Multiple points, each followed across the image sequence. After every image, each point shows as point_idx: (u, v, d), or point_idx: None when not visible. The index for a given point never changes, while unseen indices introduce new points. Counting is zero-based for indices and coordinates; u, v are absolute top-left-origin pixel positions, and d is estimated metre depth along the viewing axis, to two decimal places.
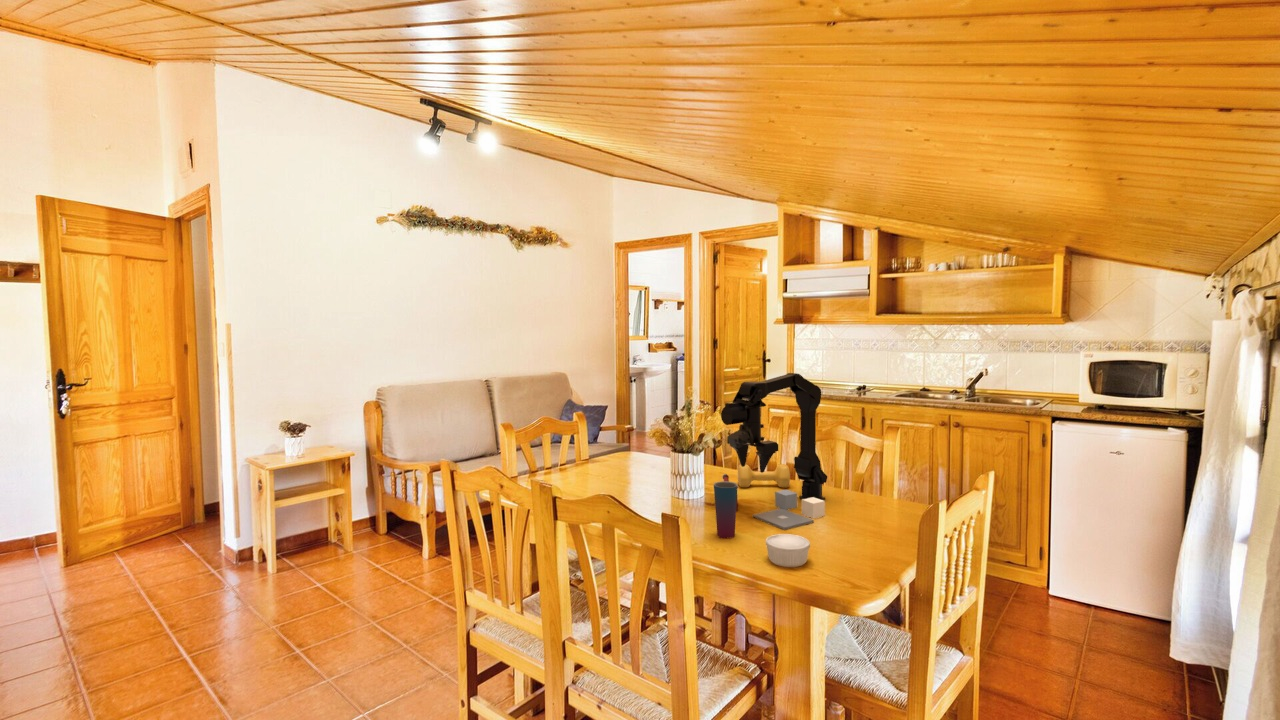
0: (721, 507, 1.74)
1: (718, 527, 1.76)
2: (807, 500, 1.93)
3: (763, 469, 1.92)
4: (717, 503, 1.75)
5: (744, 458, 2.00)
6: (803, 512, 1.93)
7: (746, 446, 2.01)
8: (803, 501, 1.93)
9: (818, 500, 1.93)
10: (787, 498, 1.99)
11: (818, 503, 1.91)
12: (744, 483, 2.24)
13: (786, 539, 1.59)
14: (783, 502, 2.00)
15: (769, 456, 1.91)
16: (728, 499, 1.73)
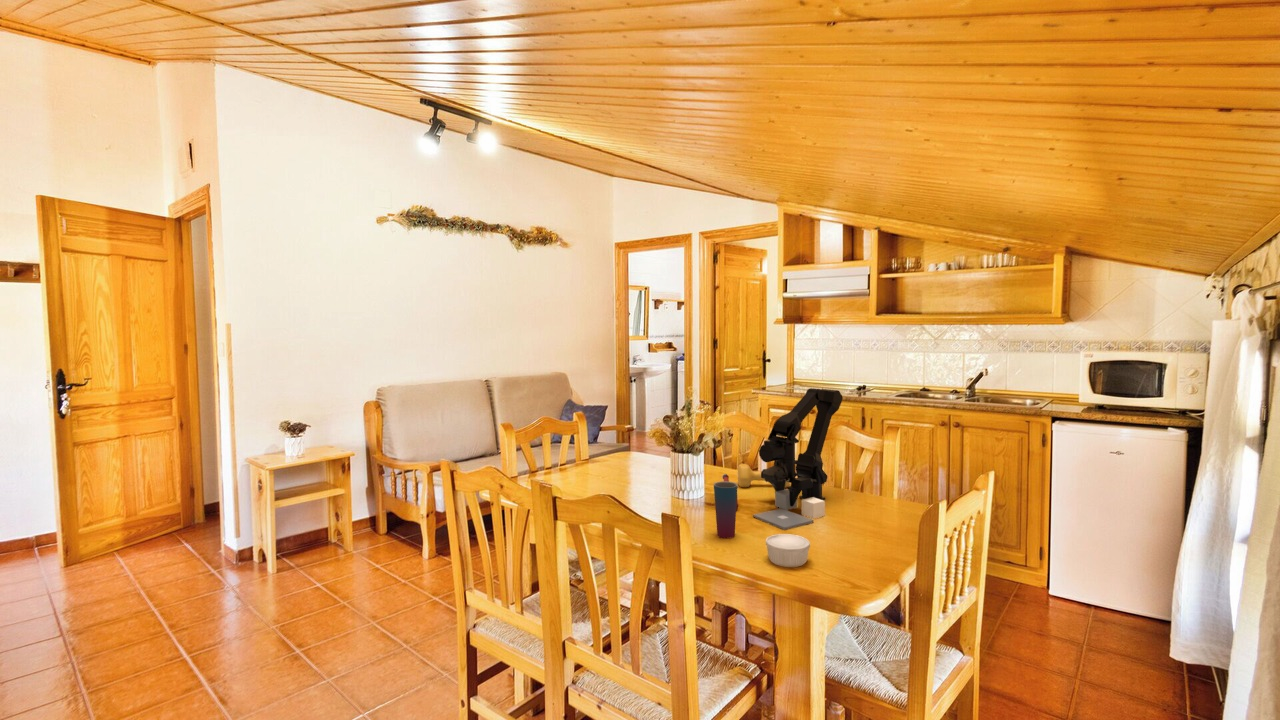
0: (721, 507, 1.74)
1: (718, 527, 1.76)
2: (807, 500, 1.93)
3: (793, 503, 1.99)
4: (717, 503, 1.75)
5: None
6: (803, 512, 1.93)
7: (783, 482, 2.05)
8: (803, 501, 1.93)
9: (818, 500, 1.92)
10: (787, 498, 1.99)
11: (818, 503, 1.91)
12: (744, 483, 2.25)
13: (786, 539, 1.59)
14: (783, 502, 2.00)
15: (799, 490, 1.99)
16: (728, 499, 1.73)
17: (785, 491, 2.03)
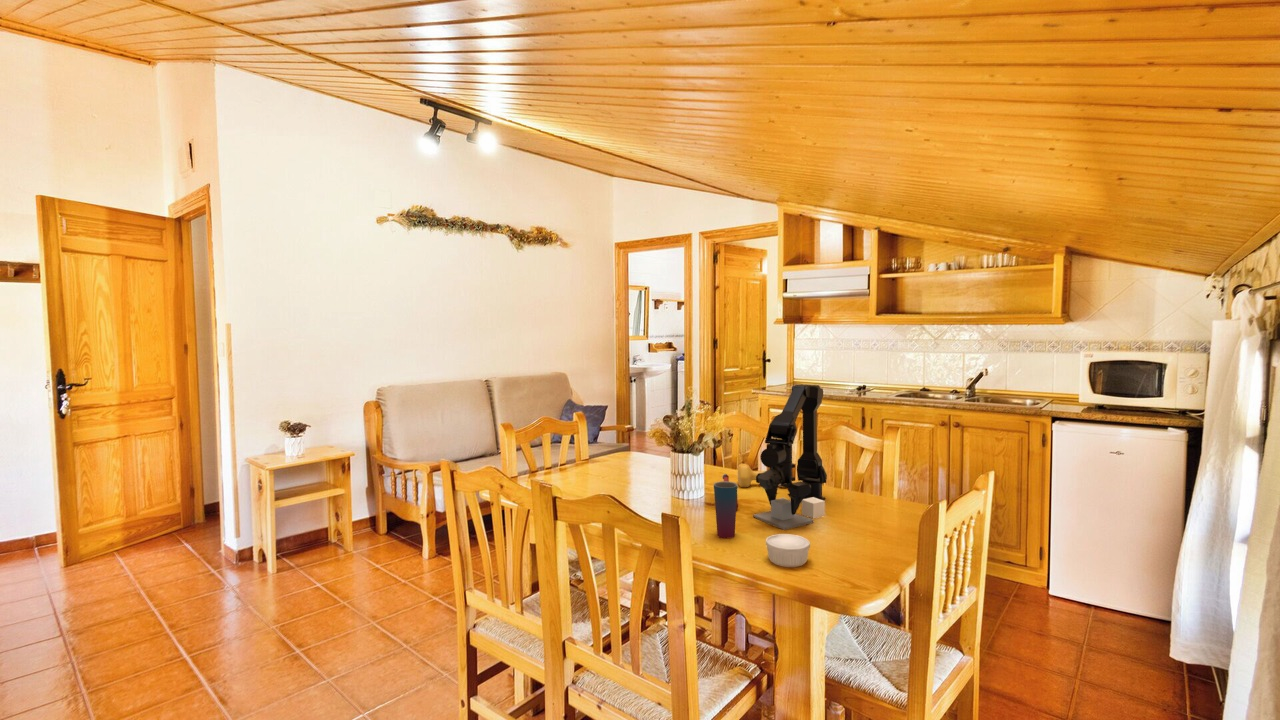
0: (721, 507, 1.74)
1: (718, 527, 1.76)
2: (807, 500, 1.93)
3: (795, 511, 1.85)
4: (717, 503, 1.75)
5: (773, 498, 1.93)
6: (803, 512, 1.93)
7: (776, 485, 1.94)
8: (803, 501, 1.93)
9: (818, 500, 1.93)
10: (784, 507, 1.86)
11: (818, 503, 1.91)
12: (744, 483, 2.25)
13: (786, 539, 1.59)
14: (779, 511, 1.87)
15: (801, 498, 1.84)
16: (728, 499, 1.73)
17: (781, 500, 1.90)
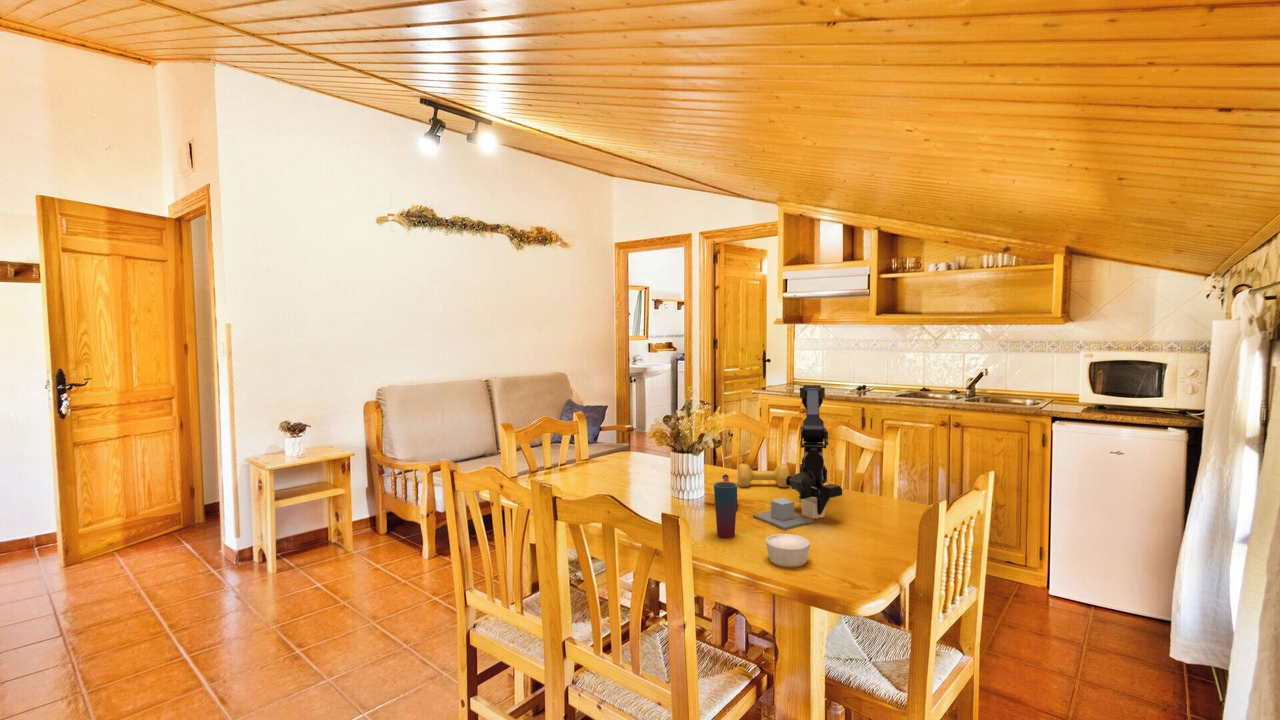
0: (721, 507, 1.74)
1: (718, 527, 1.76)
2: (807, 500, 1.93)
3: (821, 511, 1.90)
4: (717, 503, 1.75)
5: None
6: (803, 512, 1.93)
7: (810, 489, 1.96)
8: (803, 501, 1.93)
9: None
10: (784, 507, 1.86)
11: None
12: (744, 483, 2.25)
13: (786, 539, 1.59)
14: (779, 511, 1.87)
15: (827, 498, 1.90)
16: (728, 499, 1.73)
17: (781, 500, 1.90)
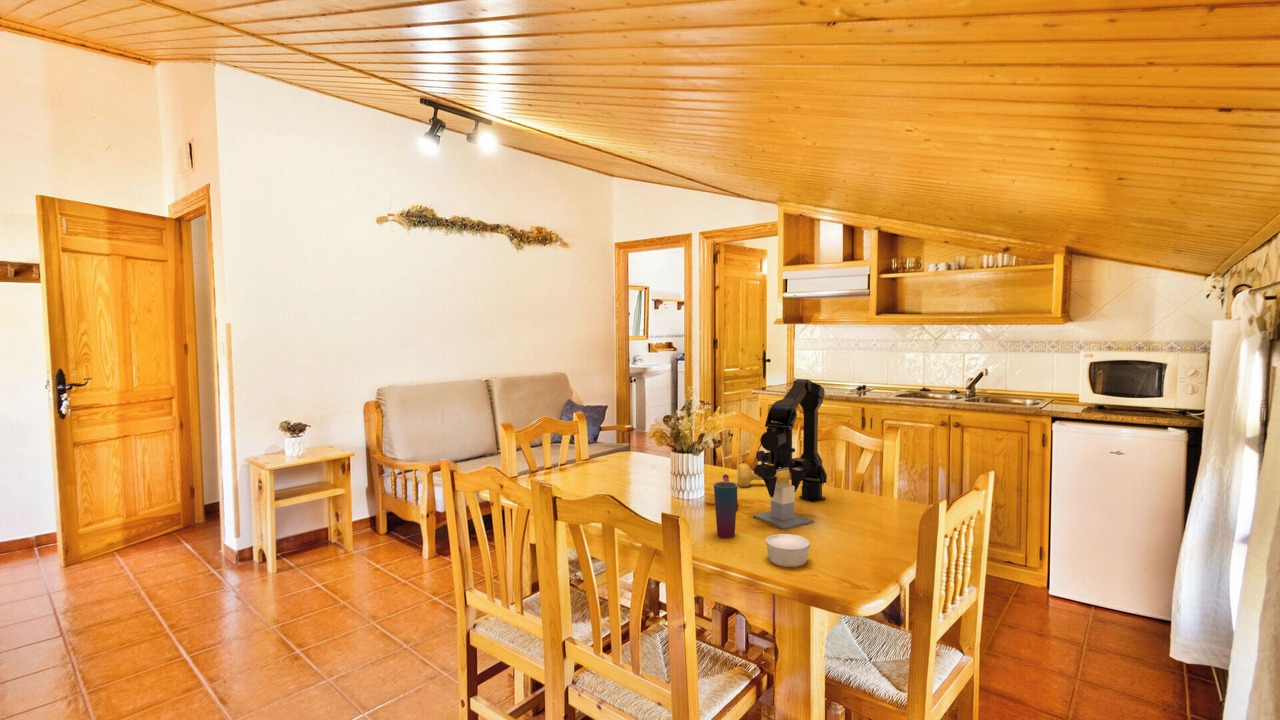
0: (721, 507, 1.74)
1: (718, 527, 1.76)
2: (781, 483, 1.90)
3: (770, 494, 1.86)
4: (717, 503, 1.75)
5: (794, 484, 1.90)
6: None
7: (799, 473, 1.89)
8: None
9: (783, 486, 1.87)
10: (784, 507, 1.86)
11: (776, 487, 1.88)
12: (743, 483, 2.25)
13: (786, 539, 1.59)
14: (779, 511, 1.87)
15: (770, 482, 1.84)
16: (728, 499, 1.73)
17: None
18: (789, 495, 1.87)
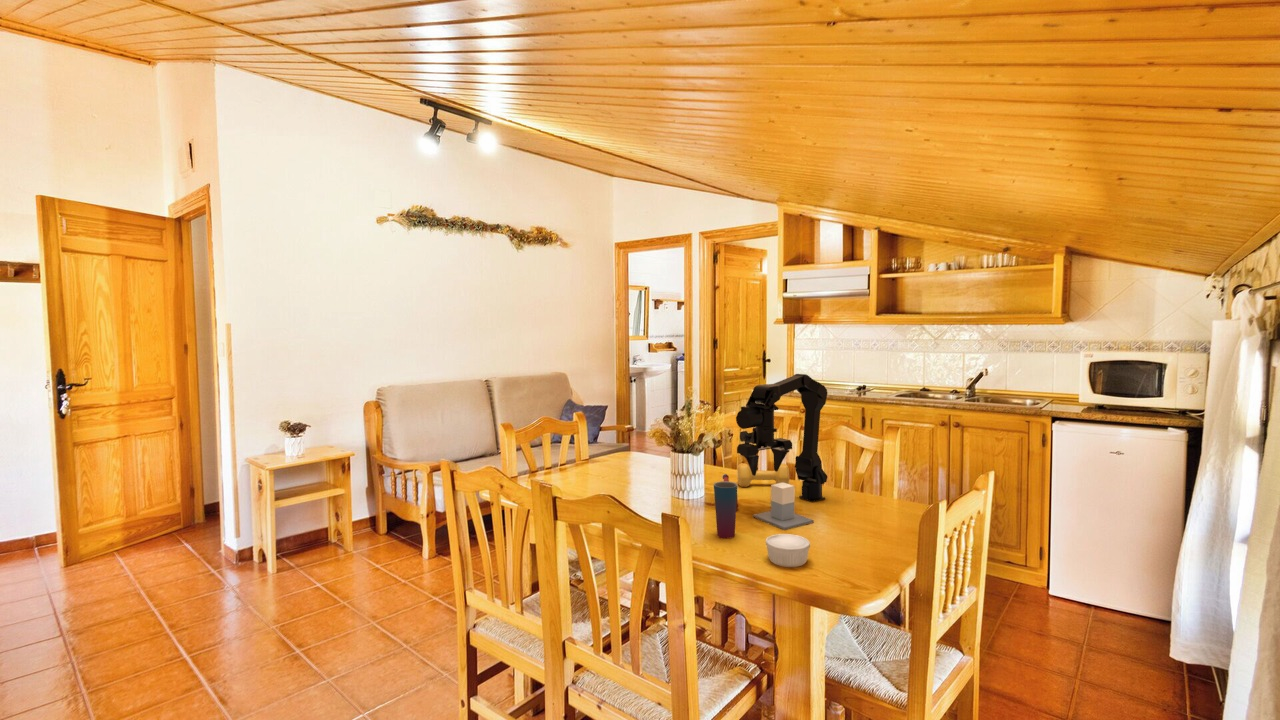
0: (721, 507, 1.74)
1: (718, 527, 1.76)
2: (781, 483, 1.90)
3: (753, 472, 1.93)
4: (717, 503, 1.75)
5: (777, 463, 1.97)
6: None
7: (781, 452, 1.96)
8: None
9: (783, 486, 1.87)
10: (784, 507, 1.86)
11: (776, 487, 1.88)
12: (743, 482, 2.25)
13: (786, 539, 1.59)
14: (779, 511, 1.87)
15: (753, 460, 1.90)
16: (728, 499, 1.73)
17: None
18: (789, 495, 1.87)
